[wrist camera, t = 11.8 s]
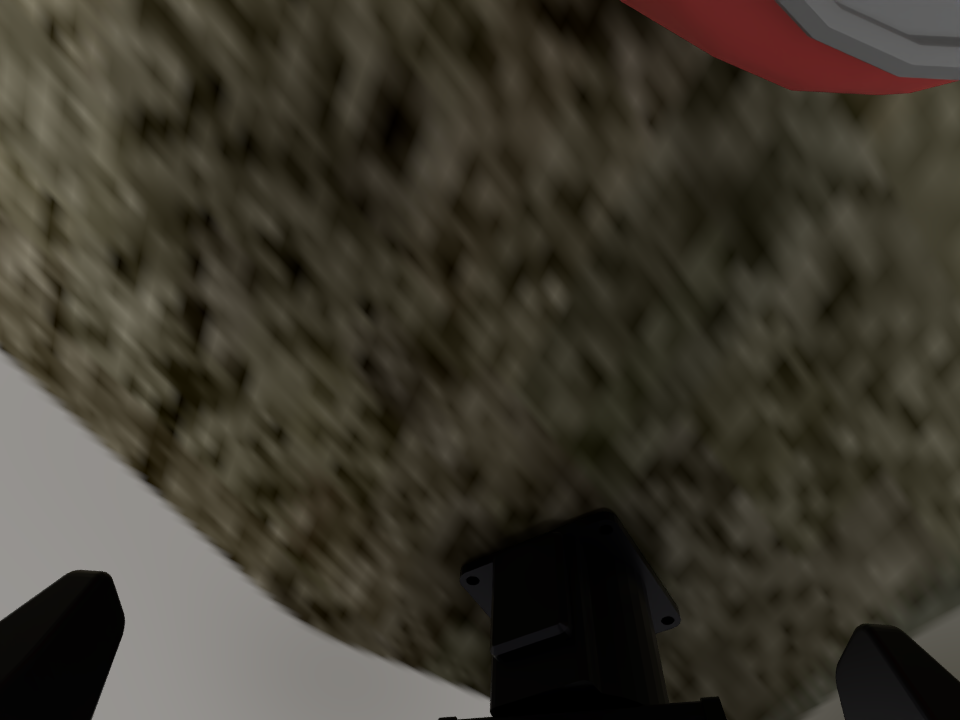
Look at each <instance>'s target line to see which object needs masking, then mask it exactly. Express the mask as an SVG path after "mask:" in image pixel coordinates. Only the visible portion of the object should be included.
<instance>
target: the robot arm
mask: <svg viewBox="0 0 960 720" xmlns="http://www.w3.org/2000/svg"><path fill="white" fill-rule="evenodd" d="M602 525H609V526H608V527H601V526H602ZM471 576H475V577H471ZM460 583H461V585H462V586H463V587H464V588H465V589H466V591H467V592H468V593H469V594H470V595H471V596H472V598H473V599H474V600H475V601H476V602H477V603H478V604H479V606H480V607H481V608H482V609H483V610H484V611H485V612H486V614H487V615H488V616H489V617H490V618H491V633H490V652H491V654H492V667H491V698H490V713H491V715H492V716H493V717H484V718H471V719H458V720H727V719H726V716H725V714H724V711H723V708H722V705H721V702H720V699H719V697H718V696H717V697H704V698H700V701H695V702H682V703H669V700H668V695H667V690H666V685H665V681H664V676H663V671H662V666H661V661H660V656H659V651H658V646H657V641H656V636H655V634H656V633H659V632H662V631H665V630H668V629H672V628H674V627H676V626H678V625H679V624H680V621H681V618H680V614H679V610H678V608H677V606H676V605H675V603H674V602H673V600H672V599H671V597H670V596H669V594H668V593H667V591H666V590H665V588H664V587H663V585H662V584H661V582H660V581H659V579H658V578H657V576H656V575H655V573H654V572H653V570H652V569H651V567H650V566H649V564H648V563H647V561H646V560H645V558H644V557H643V555H642V554H641V552H640V551H639V549H638V548H637V546H636V545H635V543H634V542H633V540H632V539H631V537H630V536H629V534H628V533H627V531H626V530H625V528H624V527H623V525H622V524H621V522H620V521H619V519H618V518H617V516H615V515H614V514H613V513H610V512H600V513H596V514H594V515H591V516H589V517H586V518H584V519H581V520H579V521H576V522H573V523H571V524H568V525H566V526H563V527H561V528H558V529H556V530H553V531H550V532H548V533H545V534H543V535H540V536H538V537H535V538H533V539H530V540H527V541H525V542H522V543H520V544H517V545H515V546H512V547H510V548H507V549H504V550H502V551H499V552H497V553H494V554H492V555H489V556H487V557H484V558H481V559H479V560H476V561H474V562H471V563H469V564H466V565H465V566H463V567H462V569H461V571H460ZM124 625H125V617H124V612H123V609H122V606H121V604H120V600H119V597H118V594H117V591H116V588H115V585H114V582H113V579H112V577H111V576H110V575H109V574H108V573H107V572H103V571H88V570H75V571H72V572H70V573H67V574H66V575H64V576H63V577H61V578H60V579H58V580H57V581H56V582H54V583H53V584H51V585H50V586H49V587H47V588H46V589H44V590H43V591H42V592H40V593H39V594H37V595H36V596H35V597H33V598H32V599H30V600H29V601H28V602H26V603H25V604H24V605H22V606H21V607H19V608H18V609H16V610H15V611H14V612H12V613H11V614H9V615H8V616H7V617H5V618H4V619H2V620H1V621H0V720H92V717H93V714H94V711H95V709H96V706H97V704H98V701H99V698H100V695H101V693H102V690H103V687H104V685H105V682H106V679H107V676H108V674H109V671H110V668H111V665H112V662H113V660H114V657H115V654H116V652H117V649H118V646H119V643H120V641H121V638H122V635H123V631H124ZM836 684H837V689H838V693H839V697H840V701H841V705H842V709H843V713H844V717H845V720H960V682H959V681H958V680H957V679H956V678H955V677H954V676H953V675H952V674H950V673H949V672H948V671H947V670H946V669H945V668H944V667H942V665H940V664H939V663H938V662H937V661H936V660H935V659H934V658H933V657H931V656H930V655H929V654H928V653H927V652H926V651H925V650H924V649H922V648H921V647H920V646H919V645H918V644H917V643H916V642H915V641H914V640H912V639H911V638H910V637H909V636H908V635H907V634H906V633H905V632H903V631H902V630H900V629H899V628H897V627H895V626H890V625H879V624H861V625H860V626H858V627H857V628H856V629H855V630H854V632H853V634H852V636H851V638H850V640H849V642H848V644H847V646H846V648H845V650H844V652H843V654H842V656H841V658H840V660H839V662H838V664H837V668H836ZM438 720H457V718H456V717H444V718H439V719H438Z"/></svg>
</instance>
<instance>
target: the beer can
mask: <svg viewBox="0 0 960 720" xmlns="http://www.w3.org/2000/svg"><path fill="white" fill-rule="evenodd" d="M620 1H621V2H623V3H625V4H626V5H628V6H630V7H631V8H633V9H635V10H636V11H638V12H640V13H641V14H643V15H645V16H646V17H648V18H650V19H651V20H653V21H655V22H656V23H658V24H660V25H661V26H663V27H665V28H666V29H668V30H670V31H671V32H673V33H675V34H676V35H678V36H680V37H681V38H683V39H685V40H686V41H688V42H690V43H691V44H693V45H695V46H696V47H698V48H700V49H702V50H703V51H705V52H707V53H708V54H710V55H712V56H713V57H715V58H718V59H720V60H722V61H724V62H727V63H729V64H731V65H734V66H736V67H738V68H741V69H743V70H745V71H747V72H750V73H752V74H754V75H757V76H759V77H761V78H764V79H766V80H768V81H771V82H773V83H775V84H777V85H780V86H782V87H784V88H787V89H789V90H794V91H813V92H831V93H850V94H869V95H886V94H902V93H912V92H916V91H920V90H924V89H928V88H932V87H935V86H939V85H943V84H947V83H951V82H955V81H959V80H960V0H620Z"/></svg>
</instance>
